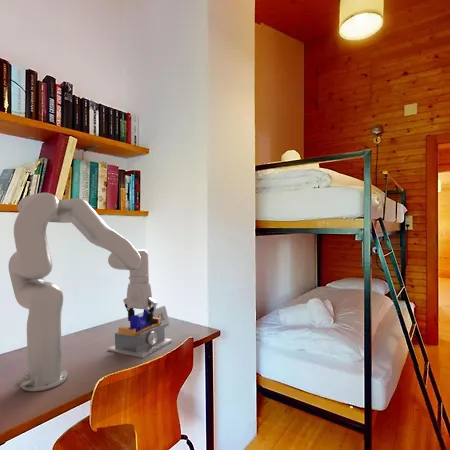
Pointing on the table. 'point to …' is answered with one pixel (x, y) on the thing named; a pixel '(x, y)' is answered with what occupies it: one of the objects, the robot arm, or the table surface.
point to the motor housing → (140, 339)
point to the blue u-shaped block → (138, 321)
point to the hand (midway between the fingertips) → (140, 321)
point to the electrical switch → (161, 315)
